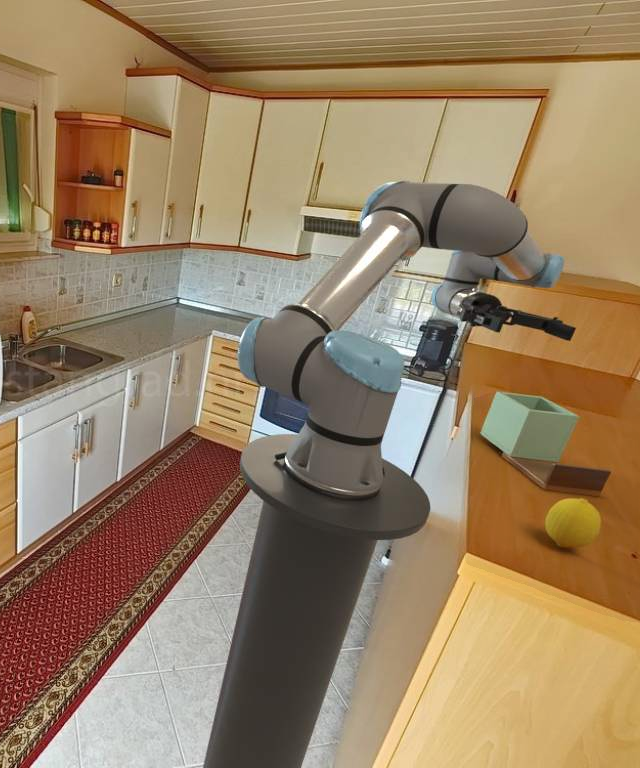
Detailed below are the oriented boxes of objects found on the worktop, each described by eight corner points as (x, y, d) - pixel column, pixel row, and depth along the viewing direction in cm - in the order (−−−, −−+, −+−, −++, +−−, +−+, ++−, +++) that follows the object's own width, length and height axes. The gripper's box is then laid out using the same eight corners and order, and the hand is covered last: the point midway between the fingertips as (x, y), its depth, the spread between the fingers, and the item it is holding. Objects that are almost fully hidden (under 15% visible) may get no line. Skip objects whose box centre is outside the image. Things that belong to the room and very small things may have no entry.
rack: (598, 496, 85) (611, 471, 83) (544, 489, 85) (555, 464, 83) (549, 462, 96) (559, 439, 94) (501, 456, 96) (510, 433, 95)
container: (558, 462, 94) (579, 416, 90) (510, 456, 94) (529, 410, 91) (523, 439, 103) (541, 396, 100) (479, 433, 103) (496, 391, 100)
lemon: (533, 543, 70) (555, 496, 67) (540, 529, 73) (561, 483, 71) (583, 565, 66) (609, 516, 63) (587, 549, 70) (612, 502, 67)
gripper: (427, 286, 116) (477, 304, 97) (536, 298, 115) (609, 319, 95) (417, 316, 119) (464, 340, 99) (523, 329, 117) (592, 355, 98)
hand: (535, 330), depth 97 cm, fingers open, 13 cm apart
